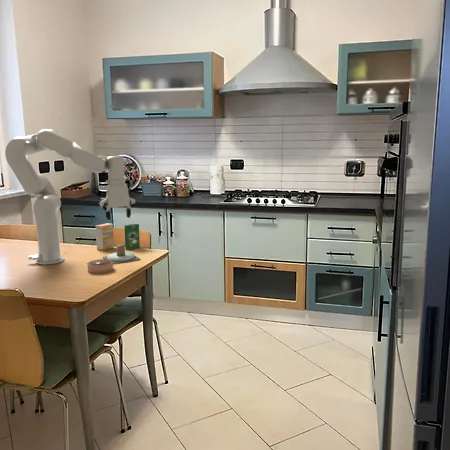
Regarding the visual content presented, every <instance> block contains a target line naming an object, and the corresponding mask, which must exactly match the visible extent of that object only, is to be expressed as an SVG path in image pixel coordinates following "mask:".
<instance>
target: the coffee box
mask: <svg viewBox="0 0 450 450" xmlns="http://www.w3.org/2000/svg"><path fill="white" fill-rule="evenodd" d="M140 242H141V241H140V224H139V223H135V222H134V223H131V224H126V225H124V245H125V251H131V249H132V250H134V249H139V248H140V246H141V245H140Z"/></svg>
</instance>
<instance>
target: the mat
mask: <svg viewBox="0 0 450 450" xmlns="http://www.w3.org/2000/svg"><path fill="white" fill-rule="evenodd" d="M107 256H108V255H106V256H102V259H107ZM137 261H141V258H139V257H138V256H136V255H135V258H134V259H131V260H127V261H113V265H117V264H123V263H130V262H137Z"/></svg>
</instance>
